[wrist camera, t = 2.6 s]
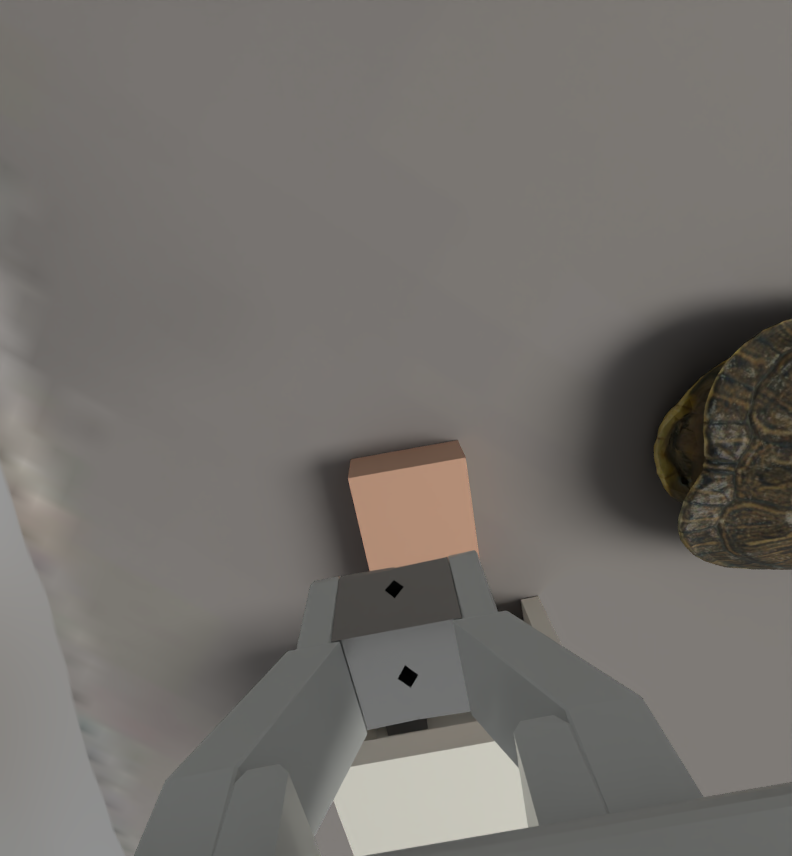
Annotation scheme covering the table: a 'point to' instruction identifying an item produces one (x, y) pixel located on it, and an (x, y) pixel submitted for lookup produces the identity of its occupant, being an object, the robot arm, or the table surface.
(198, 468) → the table surface
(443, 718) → the white storage bin
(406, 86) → the table surface
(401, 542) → the tan rectangular block
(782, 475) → the turtle shell
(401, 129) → the table surface
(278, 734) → the robot arm
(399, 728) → the stop blocks
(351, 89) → the table surface
